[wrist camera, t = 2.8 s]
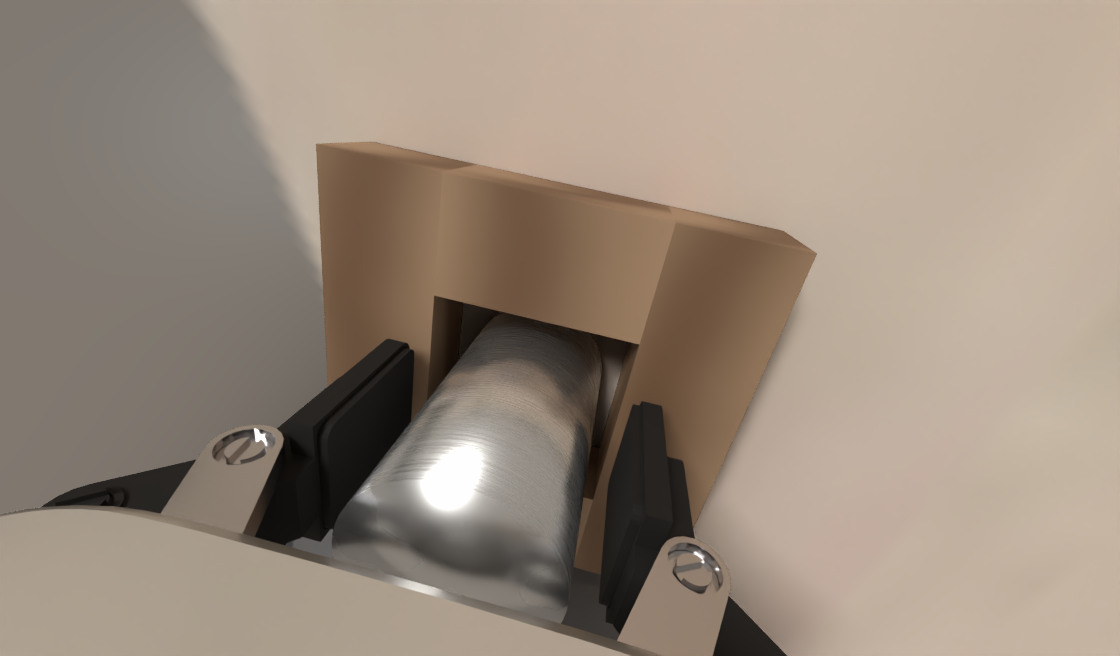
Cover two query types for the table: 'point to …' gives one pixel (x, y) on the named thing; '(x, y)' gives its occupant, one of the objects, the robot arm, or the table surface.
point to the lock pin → (488, 474)
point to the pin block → (557, 291)
